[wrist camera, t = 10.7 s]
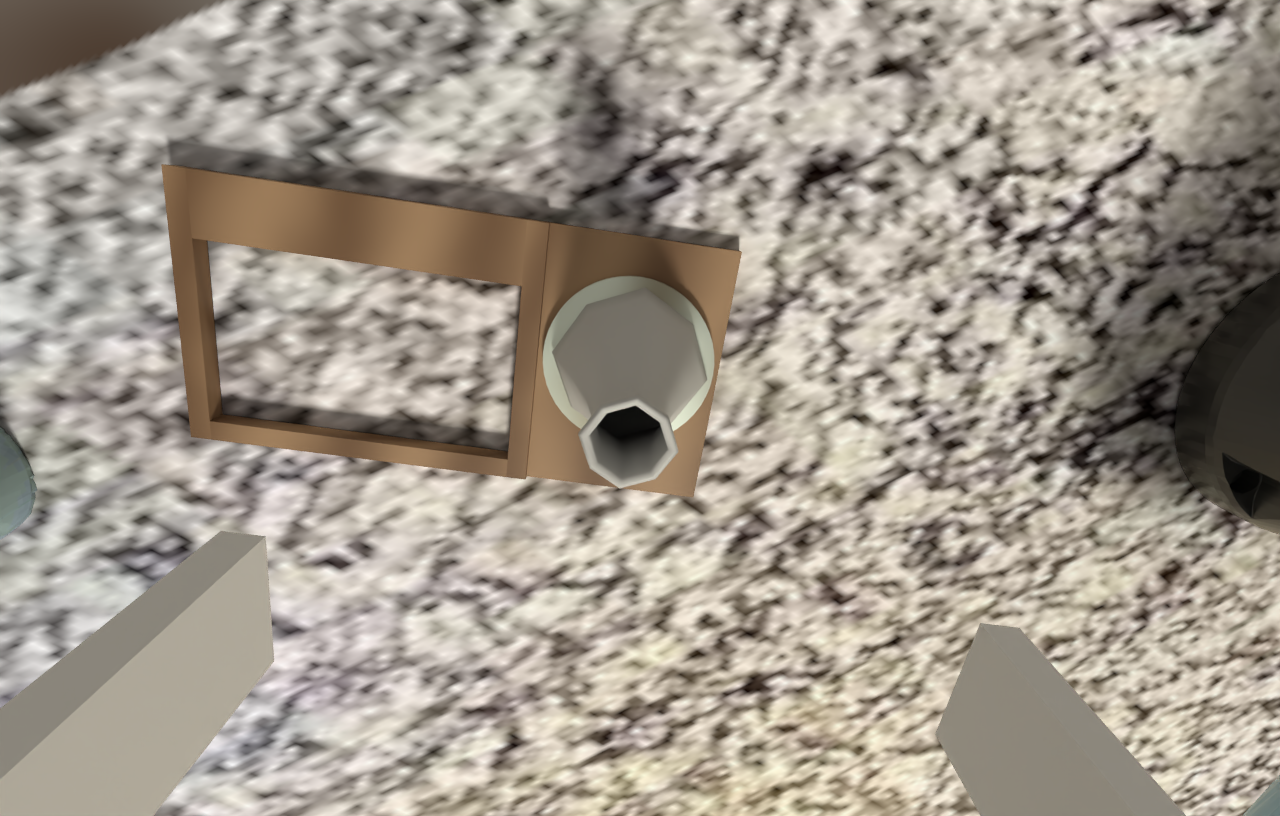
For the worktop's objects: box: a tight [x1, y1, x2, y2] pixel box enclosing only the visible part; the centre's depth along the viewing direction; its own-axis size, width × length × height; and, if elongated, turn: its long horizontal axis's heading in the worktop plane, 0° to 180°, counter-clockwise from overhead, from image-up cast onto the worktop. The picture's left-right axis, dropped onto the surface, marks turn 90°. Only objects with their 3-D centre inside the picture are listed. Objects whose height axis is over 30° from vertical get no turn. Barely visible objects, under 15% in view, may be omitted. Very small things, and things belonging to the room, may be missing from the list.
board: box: [161, 164, 742, 497], centre depth 30 cm, size 26×13×1 cm, turn 82°
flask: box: [552, 288, 707, 488], centre depth 25 cm, size 7×7×10 cm
